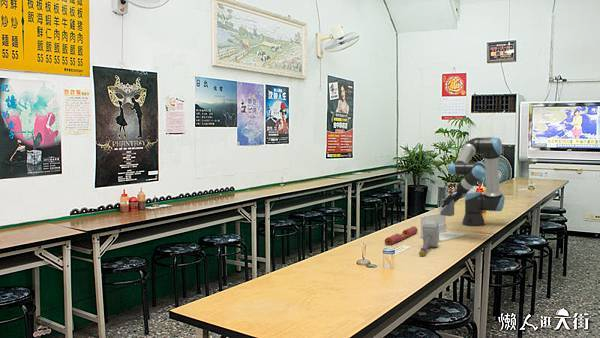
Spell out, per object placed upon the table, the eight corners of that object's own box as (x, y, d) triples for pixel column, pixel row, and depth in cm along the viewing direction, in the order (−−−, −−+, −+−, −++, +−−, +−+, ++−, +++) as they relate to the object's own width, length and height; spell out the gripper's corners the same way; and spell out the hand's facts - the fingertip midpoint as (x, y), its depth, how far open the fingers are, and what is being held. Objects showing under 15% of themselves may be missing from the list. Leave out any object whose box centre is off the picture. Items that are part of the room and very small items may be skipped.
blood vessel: (410, 233, 352) (410, 225, 351) (417, 233, 349) (417, 226, 348) (384, 245, 317) (384, 237, 317) (392, 246, 314) (392, 238, 314)
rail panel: (443, 232, 351) (443, 211, 350) (465, 235, 339) (465, 214, 338) (420, 238, 334) (420, 216, 333) (442, 241, 322) (442, 219, 321)
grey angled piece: (428, 242, 282) (438, 219, 308) (413, 241, 286) (424, 219, 311) (429, 267, 287) (439, 242, 312) (415, 265, 290) (426, 241, 316)
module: (444, 214, 337) (444, 197, 336) (454, 215, 332) (454, 198, 331) (440, 215, 334) (440, 198, 333) (450, 216, 329) (450, 199, 328)
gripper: (461, 191, 314) (437, 215, 328) (476, 188, 326) (453, 212, 340) (453, 182, 318) (430, 206, 331) (468, 180, 330) (446, 203, 343)
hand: (442, 209), depth 335 cm, fingers closed on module, 5 cm apart
